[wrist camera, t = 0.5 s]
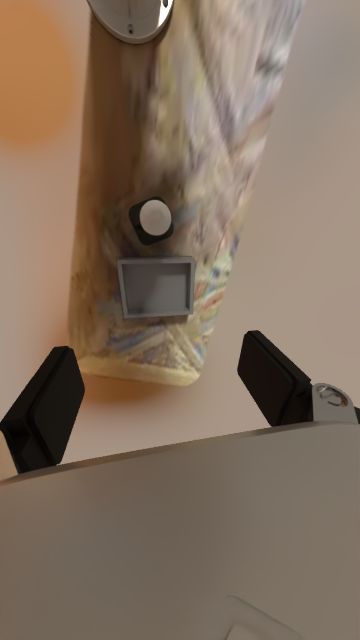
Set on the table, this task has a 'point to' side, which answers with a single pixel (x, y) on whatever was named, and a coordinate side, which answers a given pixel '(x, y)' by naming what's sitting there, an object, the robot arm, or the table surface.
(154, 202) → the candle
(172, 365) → the table surface
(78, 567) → the robot arm
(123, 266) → the tray
